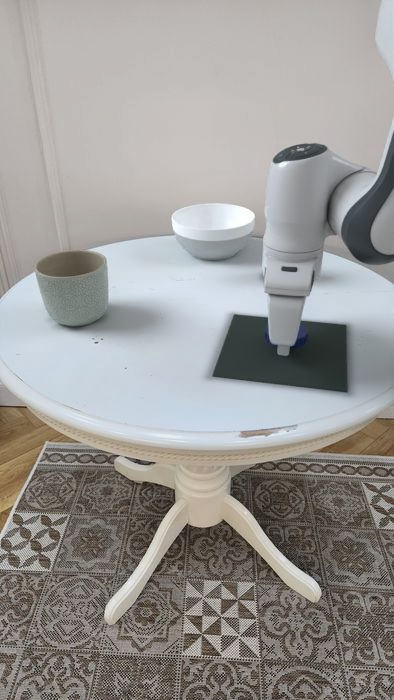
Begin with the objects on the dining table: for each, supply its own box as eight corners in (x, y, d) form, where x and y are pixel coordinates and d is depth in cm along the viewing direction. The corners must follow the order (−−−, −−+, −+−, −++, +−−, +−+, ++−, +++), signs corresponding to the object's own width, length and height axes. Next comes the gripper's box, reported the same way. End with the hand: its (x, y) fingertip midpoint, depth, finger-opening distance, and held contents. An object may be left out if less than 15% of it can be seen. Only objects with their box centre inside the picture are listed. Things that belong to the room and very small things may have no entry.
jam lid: (262, 346, 84) (262, 337, 83) (268, 326, 90) (268, 317, 89) (305, 351, 83) (306, 342, 82) (308, 330, 88) (309, 321, 87)
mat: (345, 327, 94) (346, 324, 94) (346, 393, 77) (347, 391, 77) (234, 316, 98) (234, 314, 98) (212, 377, 81) (212, 375, 81)
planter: (30, 322, 97) (19, 267, 91) (79, 296, 106) (71, 244, 100) (78, 341, 91) (69, 283, 85) (126, 312, 100) (121, 258, 94)
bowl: (172, 269, 117) (170, 230, 112) (173, 238, 132) (172, 203, 128) (258, 267, 117) (259, 229, 112) (249, 237, 133) (250, 202, 128)
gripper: (277, 235, 88) (272, 309, 96) (262, 287, 71) (258, 372, 79) (316, 237, 87) (308, 312, 94) (310, 291, 70) (301, 377, 77)
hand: (285, 340), depth 86 cm, fingers closed on jam lid, 6 cm apart
